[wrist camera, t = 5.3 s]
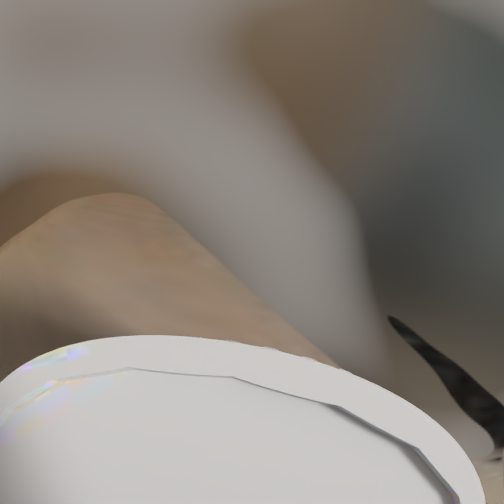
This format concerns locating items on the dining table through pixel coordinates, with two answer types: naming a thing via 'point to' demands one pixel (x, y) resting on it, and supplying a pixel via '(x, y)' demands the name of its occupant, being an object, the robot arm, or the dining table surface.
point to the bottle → (215, 430)
